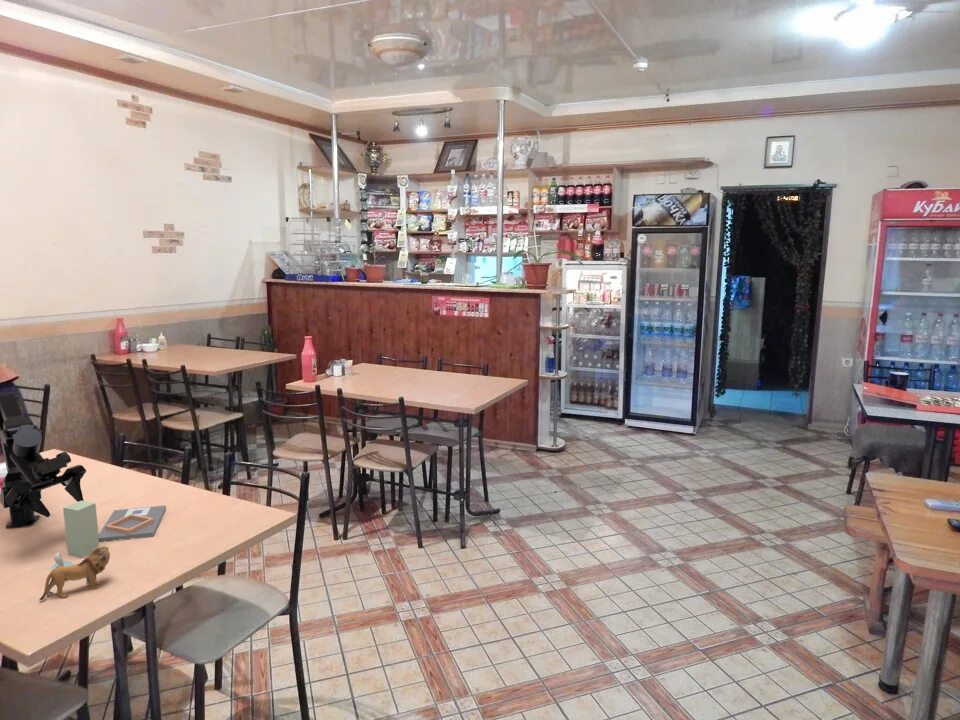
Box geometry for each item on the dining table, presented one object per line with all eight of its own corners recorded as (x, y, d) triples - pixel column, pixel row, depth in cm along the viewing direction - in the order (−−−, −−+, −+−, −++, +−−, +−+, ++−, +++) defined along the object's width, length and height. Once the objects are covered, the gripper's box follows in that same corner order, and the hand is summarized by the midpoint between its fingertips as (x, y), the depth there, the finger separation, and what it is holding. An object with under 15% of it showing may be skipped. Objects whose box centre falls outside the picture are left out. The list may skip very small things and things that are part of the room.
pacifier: (80, 566, 156) (51, 572, 152) (79, 542, 155) (50, 548, 151) (82, 578, 150) (52, 585, 146) (81, 554, 149) (50, 560, 145)
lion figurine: (108, 574, 151) (104, 540, 150) (115, 582, 148) (112, 547, 146) (36, 598, 140) (32, 561, 139) (42, 607, 137) (38, 570, 135)
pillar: (68, 554, 161) (63, 507, 158) (85, 546, 165) (81, 500, 163) (82, 558, 159) (77, 510, 157) (99, 549, 164) (95, 503, 162)
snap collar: (105, 529, 173) (104, 525, 172) (131, 517, 181) (130, 513, 180) (129, 534, 170) (128, 530, 170) (154, 522, 178) (154, 518, 178)
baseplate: (114, 514, 186) (114, 509, 186) (166, 509, 190) (165, 504, 190) (96, 542, 167) (95, 537, 167) (153, 536, 172) (153, 531, 171)
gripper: (7, 456, 152) (44, 504, 150) (78, 436, 169) (112, 479, 168) (-11, 482, 156) (25, 530, 154) (60, 460, 173) (93, 503, 171)
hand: (66, 509), depth 162 cm, fingers open, 9 cm apart
